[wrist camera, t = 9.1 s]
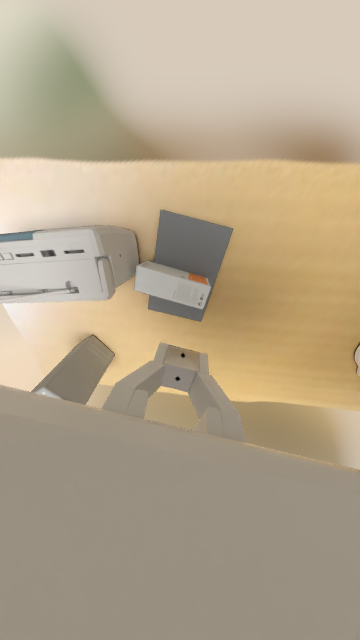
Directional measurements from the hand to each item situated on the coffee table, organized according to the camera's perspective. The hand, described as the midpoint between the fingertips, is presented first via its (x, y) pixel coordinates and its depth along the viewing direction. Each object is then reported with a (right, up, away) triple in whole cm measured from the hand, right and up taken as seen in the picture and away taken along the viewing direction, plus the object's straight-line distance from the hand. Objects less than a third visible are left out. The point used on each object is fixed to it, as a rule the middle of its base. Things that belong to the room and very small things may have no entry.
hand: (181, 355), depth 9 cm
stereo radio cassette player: (-18, +15, +20) cm, 30 cm away
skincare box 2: (+5, +7, +17) cm, 19 cm away
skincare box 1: (-22, -6, +31) cm, 39 cm away
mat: (+1, +11, +19) cm, 22 cm away
